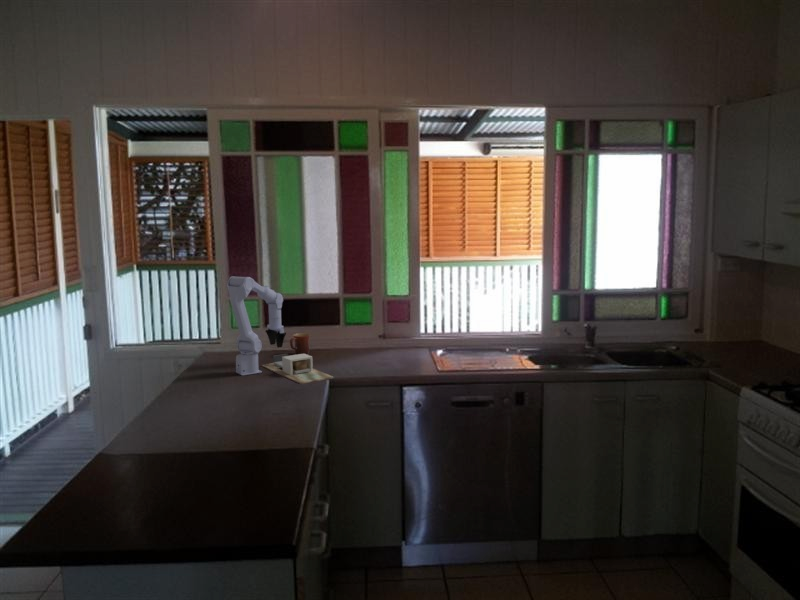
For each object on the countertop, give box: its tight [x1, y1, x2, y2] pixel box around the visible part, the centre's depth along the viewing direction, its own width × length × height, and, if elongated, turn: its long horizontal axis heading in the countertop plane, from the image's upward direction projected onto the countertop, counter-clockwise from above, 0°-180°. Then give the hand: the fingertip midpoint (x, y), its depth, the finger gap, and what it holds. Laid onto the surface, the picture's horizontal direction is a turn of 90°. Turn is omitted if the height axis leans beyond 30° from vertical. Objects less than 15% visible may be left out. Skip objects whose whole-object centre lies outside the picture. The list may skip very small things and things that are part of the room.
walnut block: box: [292, 360, 307, 371], centre depth 281 cm, size 5×5×4 cm
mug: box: [289, 332, 311, 355], centre depth 316 cm, size 12×9×10 cm
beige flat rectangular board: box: [261, 362, 334, 385], centre depth 284 cm, size 16×39×1 cm, turn 36°
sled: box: [272, 353, 310, 374], centre depth 287 cm, size 7×23×4 cm, turn 36°
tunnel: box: [282, 354, 314, 375], centre depth 282 cm, size 11×8×7 cm
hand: (276, 345), depth 299 cm, fingers open, 7 cm apart
